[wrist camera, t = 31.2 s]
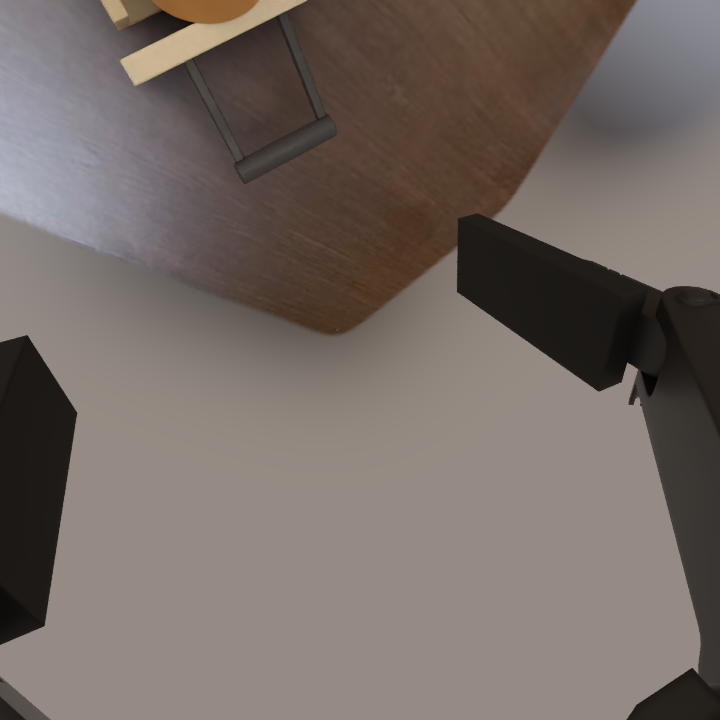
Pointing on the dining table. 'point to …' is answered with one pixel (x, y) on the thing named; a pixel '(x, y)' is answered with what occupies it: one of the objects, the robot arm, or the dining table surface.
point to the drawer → (132, 5)
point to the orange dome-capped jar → (205, 9)
